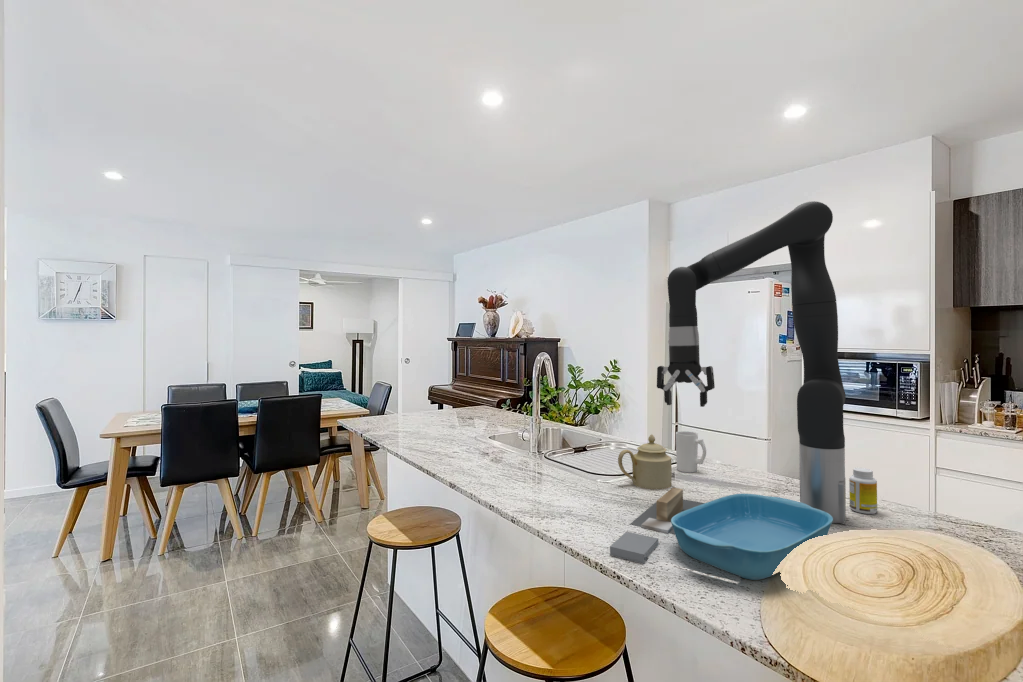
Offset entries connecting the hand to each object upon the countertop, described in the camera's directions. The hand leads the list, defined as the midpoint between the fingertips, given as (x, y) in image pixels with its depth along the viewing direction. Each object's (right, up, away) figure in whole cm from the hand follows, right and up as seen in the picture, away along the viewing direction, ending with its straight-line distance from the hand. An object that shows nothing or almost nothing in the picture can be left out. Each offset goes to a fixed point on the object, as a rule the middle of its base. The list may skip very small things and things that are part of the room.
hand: (685, 405), depth 129 cm
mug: (+12, -25, +29) cm, 40 cm away
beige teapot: (-6, -26, +14) cm, 30 cm away
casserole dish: (+4, -26, -28) cm, 39 cm away
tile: (-18, -25, -24) cm, 40 cm away
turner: (-9, -25, -12) cm, 29 cm away
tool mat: (-7, -26, -9) cm, 28 cm away
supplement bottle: (+41, -25, -8) cm, 49 cm away
